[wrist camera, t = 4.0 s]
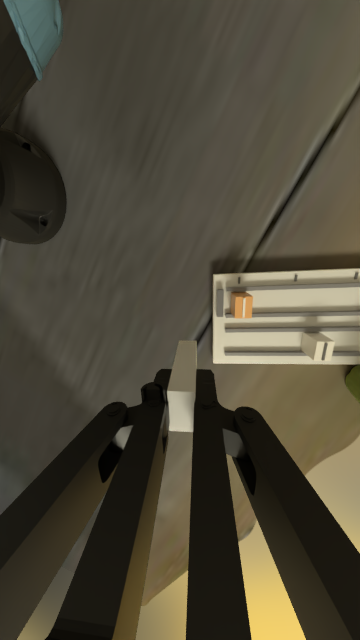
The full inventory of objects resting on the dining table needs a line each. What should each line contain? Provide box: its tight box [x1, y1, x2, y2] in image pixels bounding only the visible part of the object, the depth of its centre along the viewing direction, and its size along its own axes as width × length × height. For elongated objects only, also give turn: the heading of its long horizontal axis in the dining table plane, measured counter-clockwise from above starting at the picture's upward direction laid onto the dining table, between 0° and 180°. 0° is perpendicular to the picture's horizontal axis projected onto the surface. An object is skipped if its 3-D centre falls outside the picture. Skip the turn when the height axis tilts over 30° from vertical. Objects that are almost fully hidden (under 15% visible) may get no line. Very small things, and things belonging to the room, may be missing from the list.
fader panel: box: [212, 268, 360, 364], centre depth 30 cm, size 16×26×6 cm, turn 93°
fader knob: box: [230, 292, 253, 318], centre depth 29 cm, size 3×2×4 cm
